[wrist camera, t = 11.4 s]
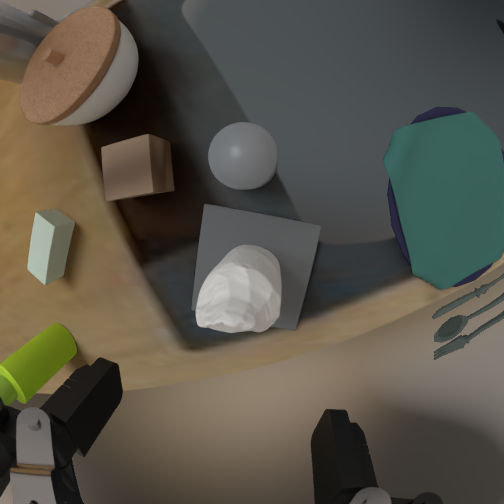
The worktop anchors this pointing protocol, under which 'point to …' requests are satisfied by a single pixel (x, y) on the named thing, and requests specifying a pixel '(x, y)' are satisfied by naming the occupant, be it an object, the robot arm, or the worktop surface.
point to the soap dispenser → (35, 363)
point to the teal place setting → (448, 207)
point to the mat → (268, 237)
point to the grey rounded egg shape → (243, 156)
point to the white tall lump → (241, 292)
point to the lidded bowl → (80, 69)
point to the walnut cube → (137, 167)
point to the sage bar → (50, 245)
